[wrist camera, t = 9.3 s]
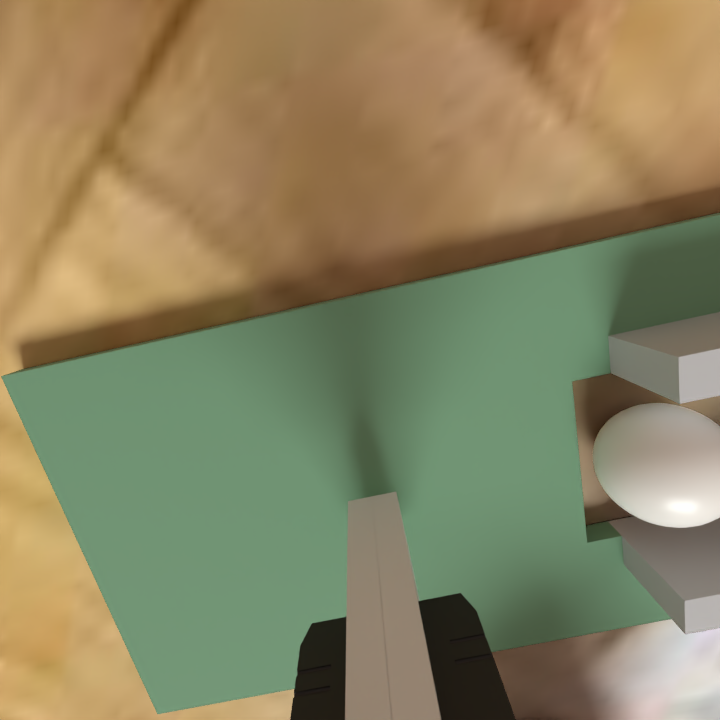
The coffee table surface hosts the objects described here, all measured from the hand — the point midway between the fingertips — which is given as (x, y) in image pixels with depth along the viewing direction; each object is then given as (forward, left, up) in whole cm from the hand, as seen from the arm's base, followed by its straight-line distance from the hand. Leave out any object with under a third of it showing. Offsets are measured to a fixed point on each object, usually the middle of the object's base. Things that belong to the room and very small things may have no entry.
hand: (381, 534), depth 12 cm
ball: (+9, 0, 0) cm, 9 cm away
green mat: (+2, 0, -2) cm, 3 cm away
